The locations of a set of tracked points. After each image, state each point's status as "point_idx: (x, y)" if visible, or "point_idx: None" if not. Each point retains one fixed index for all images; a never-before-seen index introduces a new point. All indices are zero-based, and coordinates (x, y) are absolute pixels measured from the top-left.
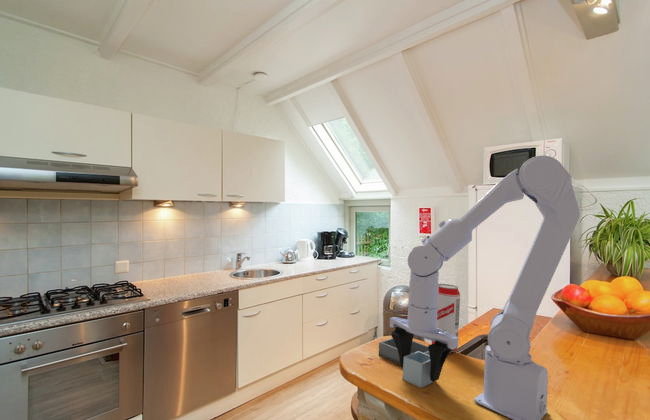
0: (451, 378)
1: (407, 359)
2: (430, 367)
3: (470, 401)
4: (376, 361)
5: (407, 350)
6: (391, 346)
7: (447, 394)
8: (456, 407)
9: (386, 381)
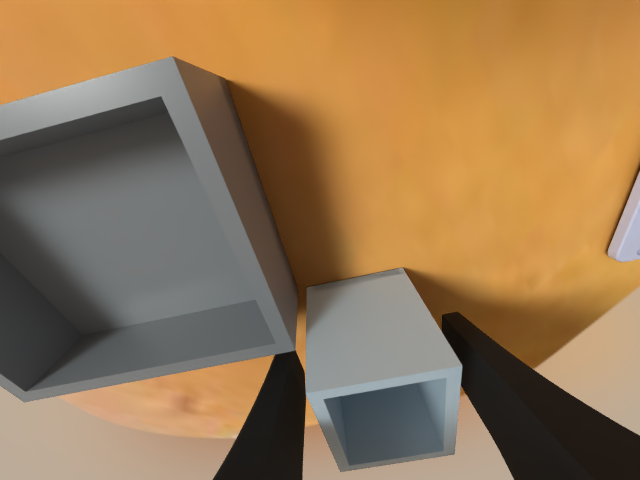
0: (437, 170)
1: (363, 459)
2: (484, 422)
3: (585, 259)
4: None
5: (285, 444)
6: (102, 380)
7: (495, 298)
8: (551, 325)
9: None
